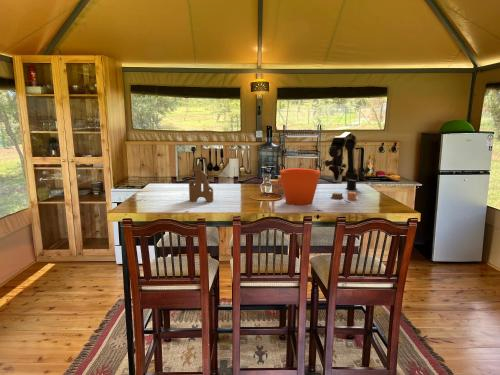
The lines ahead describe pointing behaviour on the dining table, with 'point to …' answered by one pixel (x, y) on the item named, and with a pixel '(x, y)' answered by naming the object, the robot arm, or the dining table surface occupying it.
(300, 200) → the flowerpot
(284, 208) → the dining table surface
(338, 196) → the walnut base
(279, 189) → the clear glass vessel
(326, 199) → the dining table surface
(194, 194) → the wooden toy
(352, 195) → the terracotta block
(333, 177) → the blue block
